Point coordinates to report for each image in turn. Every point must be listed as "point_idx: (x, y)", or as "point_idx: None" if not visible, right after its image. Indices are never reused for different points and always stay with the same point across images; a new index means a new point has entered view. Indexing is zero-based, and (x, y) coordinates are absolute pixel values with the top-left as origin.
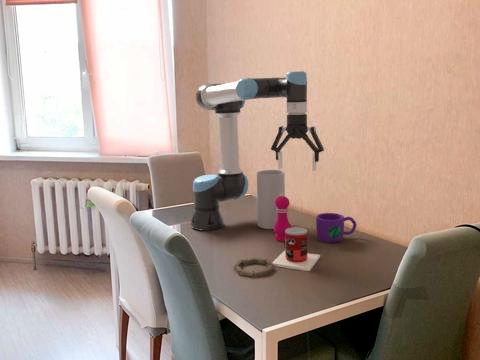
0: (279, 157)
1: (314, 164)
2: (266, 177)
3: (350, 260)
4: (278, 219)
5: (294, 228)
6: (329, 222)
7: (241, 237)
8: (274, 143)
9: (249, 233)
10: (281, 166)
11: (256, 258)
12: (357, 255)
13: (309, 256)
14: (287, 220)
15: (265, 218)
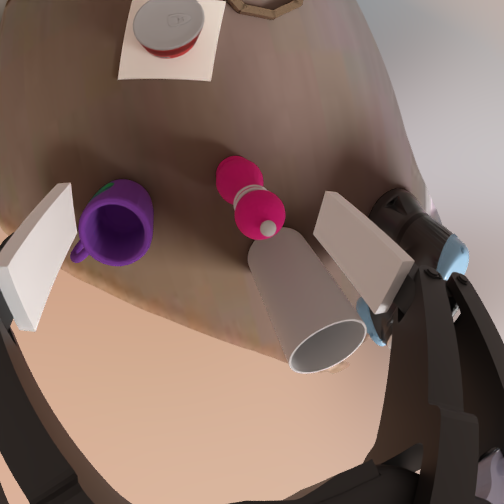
0: (378, 233)
1: (38, 208)
2: (339, 314)
3: (55, 91)
4: (256, 180)
5: (177, 40)
6: (104, 195)
7: (328, 163)
8: (483, 316)
9: (315, 192)
10: (323, 224)
11: (267, 13)
12: (46, 127)
13: (141, 60)
14: (230, 189)
15: (294, 239)
